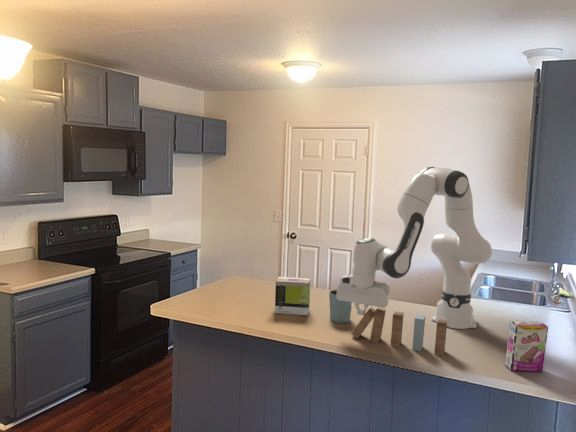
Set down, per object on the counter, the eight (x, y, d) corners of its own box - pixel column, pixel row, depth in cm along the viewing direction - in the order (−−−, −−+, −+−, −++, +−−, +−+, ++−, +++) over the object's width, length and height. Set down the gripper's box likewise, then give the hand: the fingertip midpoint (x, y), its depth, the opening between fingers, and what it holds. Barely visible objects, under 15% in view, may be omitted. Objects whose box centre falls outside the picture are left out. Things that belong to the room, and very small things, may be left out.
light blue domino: (414, 345, 186) (417, 314, 184) (422, 346, 184) (425, 316, 183) (412, 349, 181) (414, 318, 180) (420, 351, 180) (423, 319, 179)
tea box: (309, 309, 224) (311, 277, 223) (308, 316, 214) (309, 283, 213) (276, 307, 226) (278, 275, 224) (274, 313, 216) (275, 280, 214)
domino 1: (354, 329, 195) (371, 307, 192) (360, 334, 194) (377, 311, 191) (351, 333, 191) (367, 310, 187) (357, 338, 190) (374, 315, 186)
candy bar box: (511, 371, 166) (516, 324, 164) (504, 365, 171) (509, 320, 169) (543, 372, 166) (549, 326, 164) (535, 366, 171) (540, 321, 169)
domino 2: (373, 336, 192) (378, 307, 190) (380, 338, 191) (385, 309, 189) (369, 340, 188) (375, 310, 186) (377, 342, 187) (382, 312, 185)
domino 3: (393, 341, 189) (395, 310, 188) (401, 342, 188) (403, 312, 186) (390, 345, 184) (392, 314, 183) (398, 346, 183) (400, 315, 182)
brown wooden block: (436, 349, 183) (438, 318, 181) (444, 351, 181) (447, 319, 180) (434, 354, 178) (437, 322, 177) (442, 355, 177) (445, 323, 175)
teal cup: (350, 324, 206) (351, 296, 205) (326, 321, 208) (327, 294, 207) (351, 317, 216) (353, 290, 215) (329, 314, 218) (330, 288, 217)
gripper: (391, 282, 188) (389, 316, 190) (341, 274, 197) (339, 308, 198) (388, 285, 183) (385, 321, 184) (336, 277, 191) (334, 312, 193)
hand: (361, 314), depth 191 cm, fingers closed
